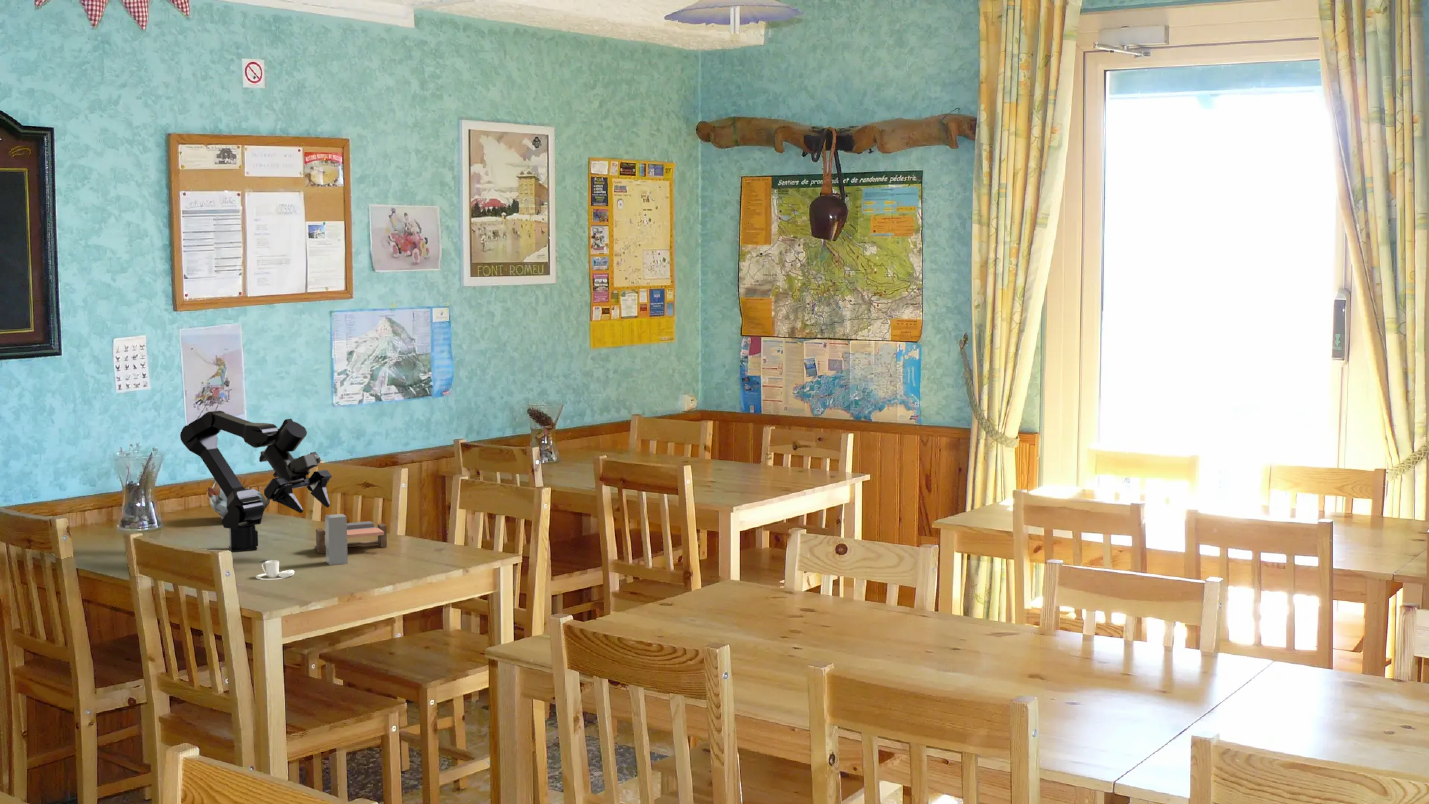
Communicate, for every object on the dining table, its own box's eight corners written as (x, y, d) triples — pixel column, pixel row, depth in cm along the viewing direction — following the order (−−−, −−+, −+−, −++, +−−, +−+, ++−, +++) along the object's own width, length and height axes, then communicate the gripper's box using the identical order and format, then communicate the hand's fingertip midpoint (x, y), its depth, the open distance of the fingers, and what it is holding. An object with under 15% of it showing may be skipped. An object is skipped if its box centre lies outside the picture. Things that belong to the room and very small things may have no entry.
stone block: (329, 565, 337) (328, 518, 336) (326, 561, 341) (324, 515, 340) (347, 563, 339) (346, 516, 338) (344, 560, 343) (342, 513, 342)
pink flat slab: (329, 543, 347) (329, 532, 347) (321, 536, 357) (321, 525, 357) (384, 538, 354) (383, 527, 353) (374, 531, 363) (374, 520, 363)
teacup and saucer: (299, 577, 326) (299, 560, 325) (273, 583, 319) (273, 566, 318) (274, 573, 330) (274, 556, 330) (248, 579, 323) (248, 562, 323)
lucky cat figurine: (255, 525, 390) (226, 480, 385) (218, 541, 393) (189, 497, 388) (278, 499, 405) (250, 456, 401) (241, 515, 409) (214, 472, 404)
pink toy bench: (319, 553, 351) (318, 531, 351) (314, 548, 357) (314, 527, 357) (386, 547, 359) (386, 525, 359) (381, 542, 365) (380, 521, 365)
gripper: (270, 447, 335) (303, 494, 331) (325, 439, 351) (357, 483, 347) (249, 475, 340) (281, 522, 335) (304, 466, 356) (336, 511, 352)
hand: (315, 509), depth 342 cm, fingers open, 9 cm apart
